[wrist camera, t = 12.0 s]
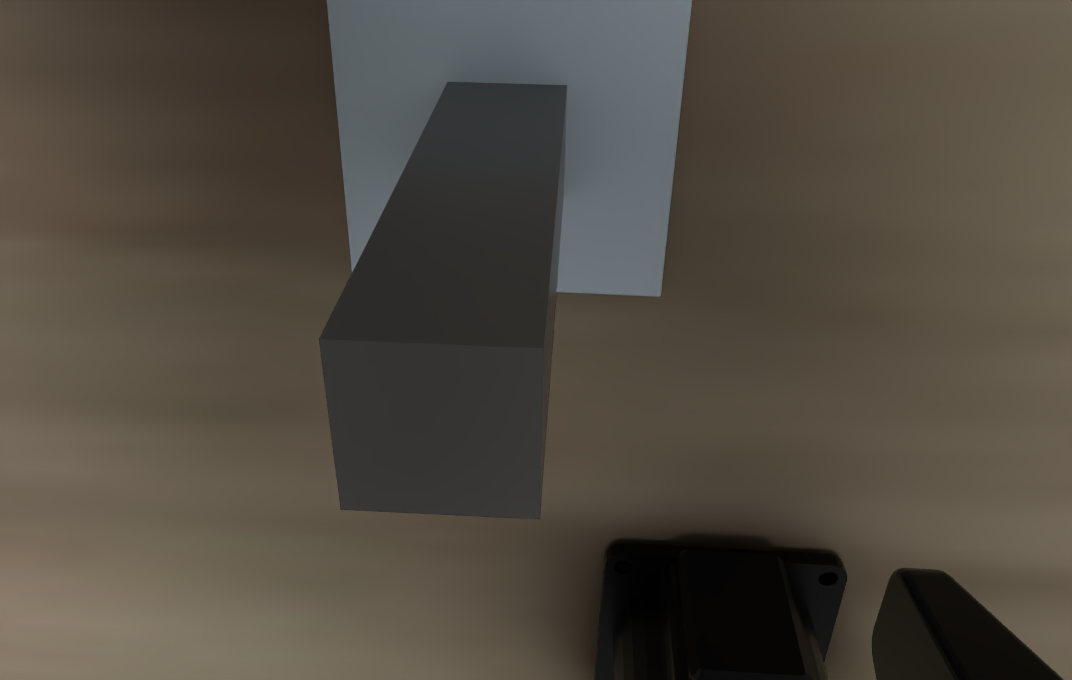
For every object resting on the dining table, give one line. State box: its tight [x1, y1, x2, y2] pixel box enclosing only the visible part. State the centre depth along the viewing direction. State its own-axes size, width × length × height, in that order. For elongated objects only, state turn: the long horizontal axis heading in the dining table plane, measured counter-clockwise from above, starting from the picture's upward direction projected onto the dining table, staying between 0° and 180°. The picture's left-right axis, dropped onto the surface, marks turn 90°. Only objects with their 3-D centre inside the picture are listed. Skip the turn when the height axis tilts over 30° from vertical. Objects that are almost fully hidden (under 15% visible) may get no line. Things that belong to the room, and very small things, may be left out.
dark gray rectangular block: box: [319, 82, 567, 519], centre depth 15 cm, size 2×2×10 cm
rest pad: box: [327, 0, 692, 297], centre depth 19 cm, size 7×7×1 cm
